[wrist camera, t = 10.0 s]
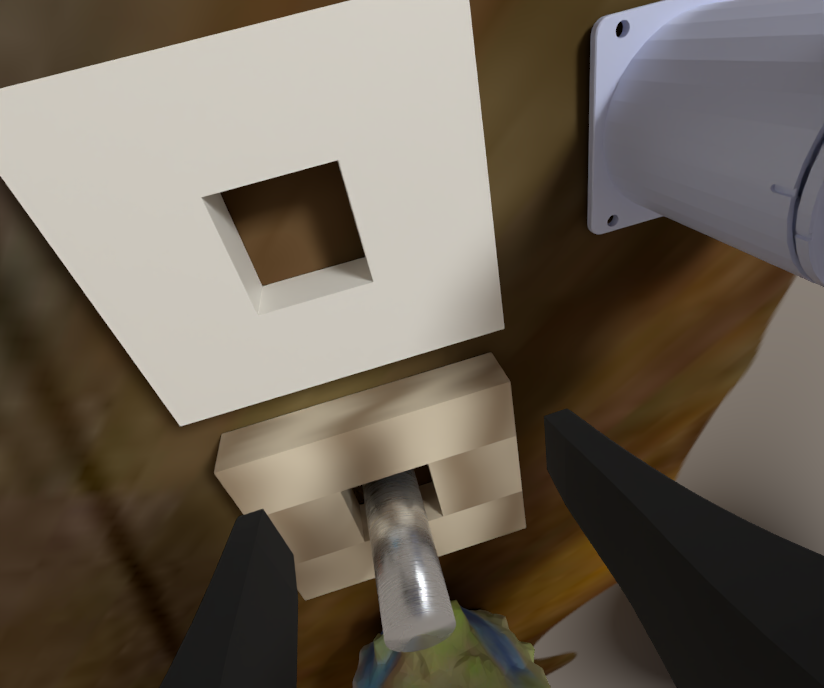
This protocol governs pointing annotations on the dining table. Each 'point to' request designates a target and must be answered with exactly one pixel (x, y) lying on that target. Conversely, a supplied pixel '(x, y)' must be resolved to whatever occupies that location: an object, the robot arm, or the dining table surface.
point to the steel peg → (406, 565)
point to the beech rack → (382, 467)
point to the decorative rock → (455, 659)
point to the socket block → (256, 161)
